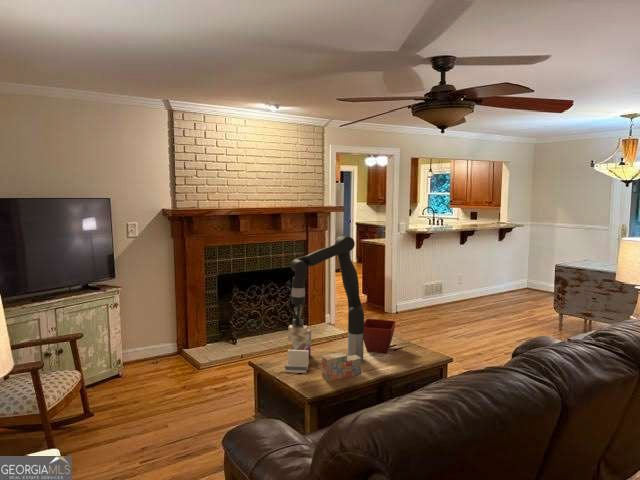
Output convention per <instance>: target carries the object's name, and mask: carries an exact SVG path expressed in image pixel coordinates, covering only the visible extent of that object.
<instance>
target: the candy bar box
mask: <svg viewBox="0 0 640 480" xmlns="http://www.w3.org/2000/svg"><path fill="white" fill-rule="evenodd" d="M291 342H292V343H291V344H292V346H291V350H309V357H310V358H311V355H312V329H307V340H306V342H293V341H291Z"/></svg>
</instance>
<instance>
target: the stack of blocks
mask: <svg viewBox="0 0 640 480" xmlns="http://www.w3.org/2000/svg"><path fill="white" fill-rule="evenodd" d="M321 369H322V370H321V371H322V372H321V377H322V379H324V380H326V381H327V382H330V381H335V380H340V379H344V378H349V377H354V376H358V375H361V374H362V362H361V358H360V357H358V356H357V355H352V356H348V354H345V353H344V352H342V351H341V352H336V353H331V354H330V353H329V354H326V355H321Z"/></svg>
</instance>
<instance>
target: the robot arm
mask: <svg viewBox="0 0 640 480" xmlns="http://www.w3.org/2000/svg"><path fill="white" fill-rule="evenodd" d="M355 244H356V242H355V240H354V238H352V237H351V236H349V235H339V236H338V237H337V238H336V239H335V242H334V244H333V245H331V246H328V247H327V246H326V247H324V248H321V249H318V250H315V251H313V252H311V253H309V254H307V255H304V256H300V257H298V258H295V259H292V262H290V269H291V271H293V272H294V276H293V277H292V281H291V304H292V305H294V307H293V310H294V311H293V313H294V319H296V326H299V325H300V319H301V316H302V309H303V306H302V305H304V304H305V303H306V291H305V289H306V288H305V286H306V285H305V283H306V281H305V279H306V276H307V270H308V267H314V266H317V265H319V264H320V263H323V262H325V261H326V260H329V259H330V258H331V259H332V258H333V257H336V256H337V257H338V261H339V267H340V273H341V281H342V285H343V289H344V292H345V294H346V299H347V305H348V306H347V307H348V309H347V312H348V314H347V315H348V316H347V317H348V318H347V321H348V322H347V333H348V334H347V336H348V337H347V356H352V355H357V356H358V357H360V358H361V363H364V340H363V337H364V322H365V312H364V308H363V305H362V301H361V297H360V283H359V282H360V281H359V277H358V272H357V269H356V267H355V266H354V263H353V261H352V259H351V255H350V252H352V250H353V249H354V248H355Z"/></svg>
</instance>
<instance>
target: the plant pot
mask: <svg viewBox="0 0 640 480" xmlns="http://www.w3.org/2000/svg"><path fill="white" fill-rule="evenodd" d="M395 326H396V321H395V320H389V319H375V318H366V319H364V337H363V345H364V346H365V349H366V351H367V352H371V353H382V354H387V353H388V352H389V350H390V347H391V345H392V341H393V339H394V338H393V337H394V334H395Z"/></svg>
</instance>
